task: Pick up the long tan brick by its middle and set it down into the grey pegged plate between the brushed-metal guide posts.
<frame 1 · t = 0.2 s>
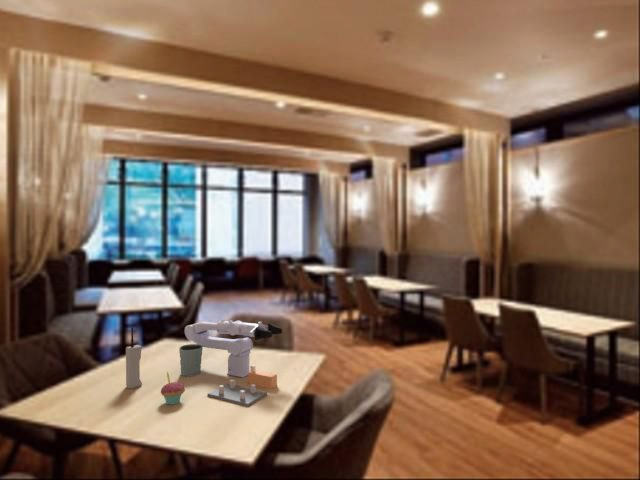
hand: (276, 332, 174), 21 cm above the table, tool horizontal, fingers open, 7 cm apart
drinking glass: (191, 373, 184), on the table
long tan brick: (262, 385, 171), on the table
grey pegged plate: (237, 395, 159), on the table
cupcake: (172, 402, 153), on the table
vintage mobile phone: (134, 386, 168), on the table
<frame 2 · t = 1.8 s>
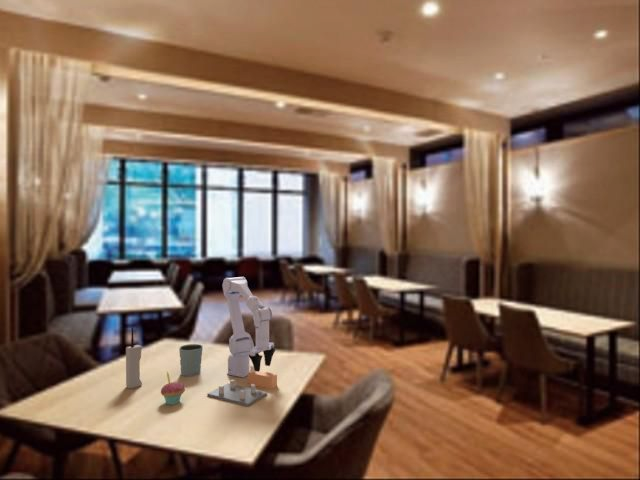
hand: (262, 368, 170), 7 cm above the table, tool pointing down, fingers open, 7 cm apart
nothing on the table moved.
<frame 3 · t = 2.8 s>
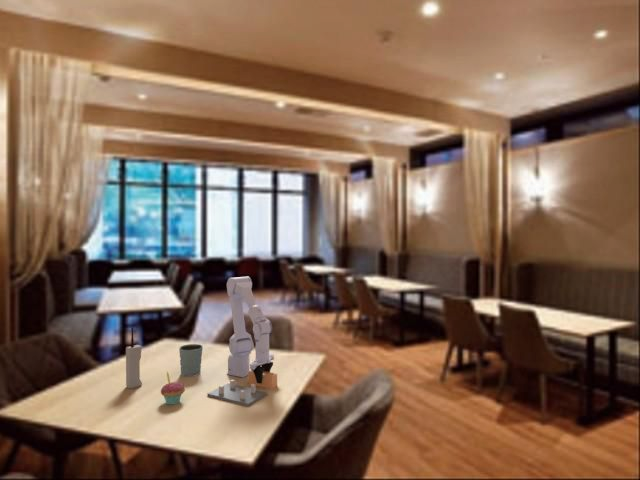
hand: (262, 381, 171), 1 cm above the table, tool pointing down, fingers closed on long tan brick, 4 cm apart
long tan brick: (262, 384, 171), on the table, touching gripper
everything else where it was.
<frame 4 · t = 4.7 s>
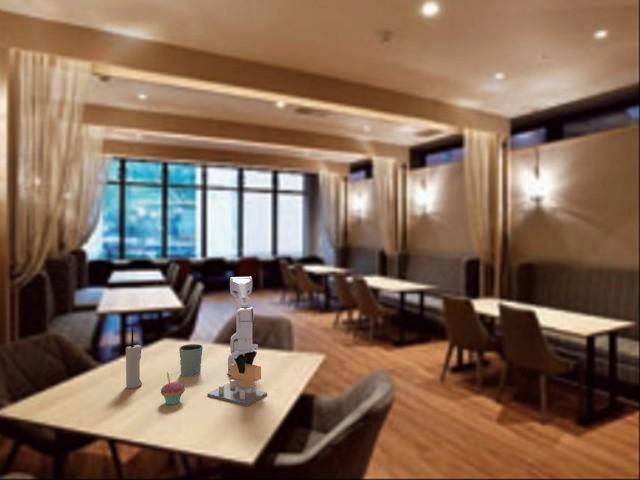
hand: (245, 371, 162), 8 cm above the table, tool pointing down, fingers closed on long tan brick, 4 cm apart
long tan brick: (245, 377, 162), point 6 cm above the table, touching gripper
everything else where it was.
when the fingers open (4 cm above the table, at t = 6.7 s): long tan brick stays where it is, resting on grey pegged plate.
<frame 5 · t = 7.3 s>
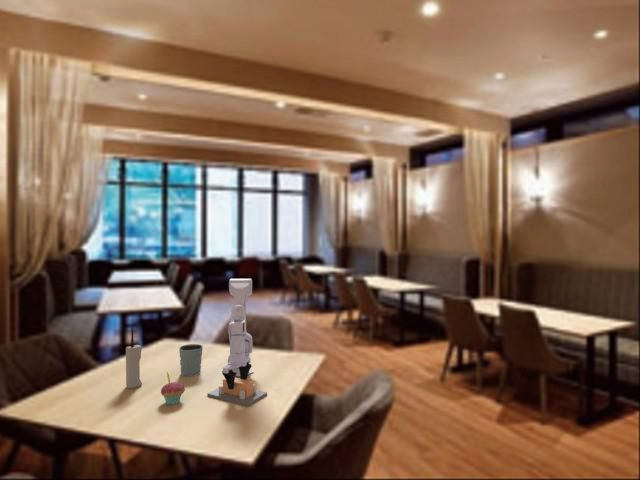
hand: (237, 385, 159), 4 cm above the table, tool pointing down, fingers open, 7 cm apart
long tan brick: (237, 393, 159), point 1 cm above the table, touching grey pegged plate
everything else where it was.
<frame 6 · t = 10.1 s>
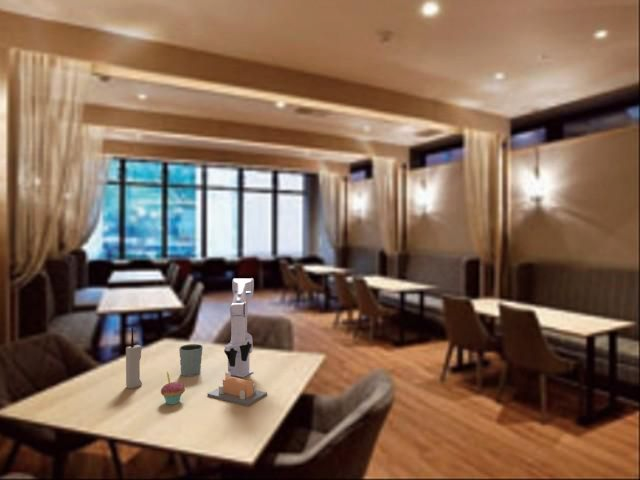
hand: (238, 363, 169), 9 cm above the table, tool pointing down, fingers open, 7 cm apart
nothing on the table moved.
at the end: long tan brick 0.3 cm off-centre on the grey pegged plate, point 1.0 cm above the grey pegged plate's base; long tan brick tilted 0°; the gripper is holding nothing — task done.
